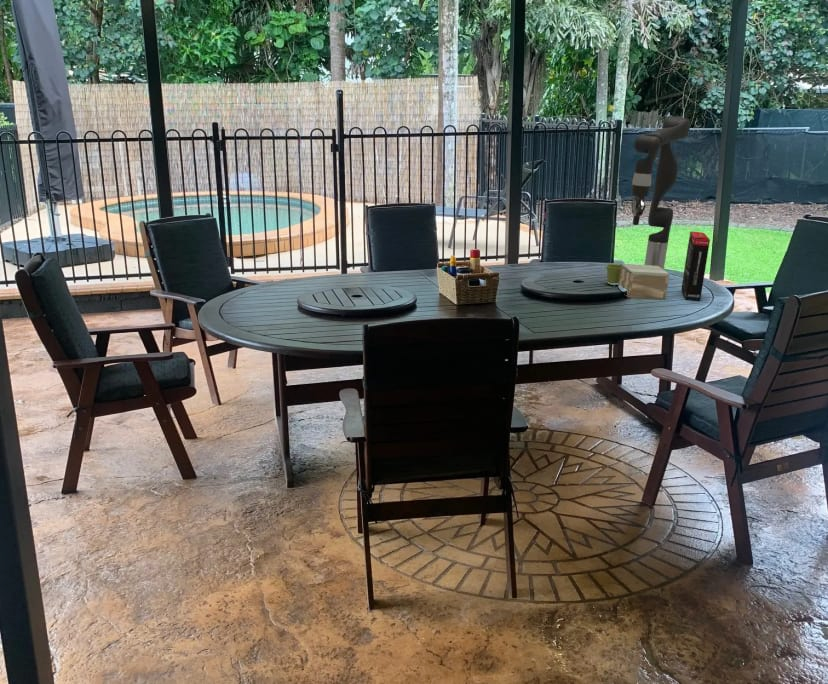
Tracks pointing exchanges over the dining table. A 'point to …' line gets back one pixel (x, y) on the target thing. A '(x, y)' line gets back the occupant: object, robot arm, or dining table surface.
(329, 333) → the dining table surface
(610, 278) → the plant pot
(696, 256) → the graphics card box
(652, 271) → the box lid
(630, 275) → the plywood box
